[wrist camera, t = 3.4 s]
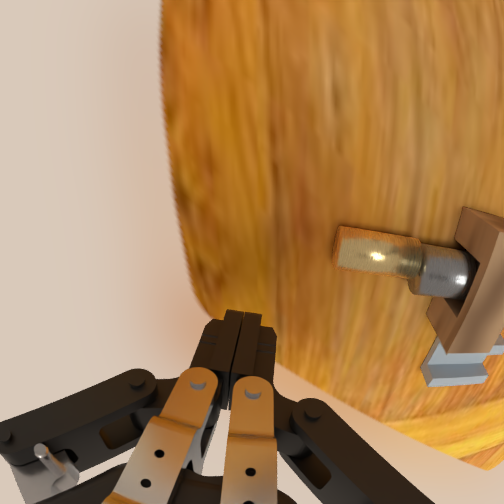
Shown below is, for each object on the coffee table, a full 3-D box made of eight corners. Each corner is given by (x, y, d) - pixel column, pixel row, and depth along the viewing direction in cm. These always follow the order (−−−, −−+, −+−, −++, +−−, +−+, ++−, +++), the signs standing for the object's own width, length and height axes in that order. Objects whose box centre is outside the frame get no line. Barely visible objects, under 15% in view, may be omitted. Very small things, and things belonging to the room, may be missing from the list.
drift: (407, 238, 22) (424, 237, 19) (402, 276, 22) (419, 281, 19) (335, 227, 22) (344, 224, 19) (330, 267, 22) (338, 270, 19)
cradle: (496, 328, 23) (507, 345, 21) (474, 366, 26) (483, 382, 23) (442, 326, 24) (452, 345, 21) (420, 367, 26) (427, 386, 24)
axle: (502, 252, 20) (524, 272, 17) (488, 288, 22) (507, 311, 18) (416, 235, 21) (435, 257, 17) (403, 278, 23) (418, 304, 19)
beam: (504, 218, 19) (540, 243, 14) (466, 316, 23) (489, 352, 18) (463, 206, 19) (499, 231, 14) (426, 313, 23) (446, 353, 19)
